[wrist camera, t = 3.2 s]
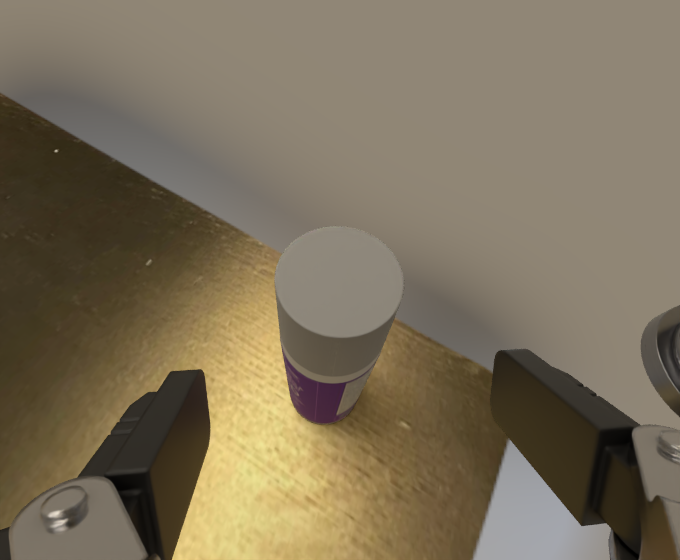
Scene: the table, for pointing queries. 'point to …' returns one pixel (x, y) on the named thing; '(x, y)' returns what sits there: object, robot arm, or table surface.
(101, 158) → the table surface
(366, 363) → the container
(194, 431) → the robot arm
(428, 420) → the table surface
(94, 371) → the table surface
